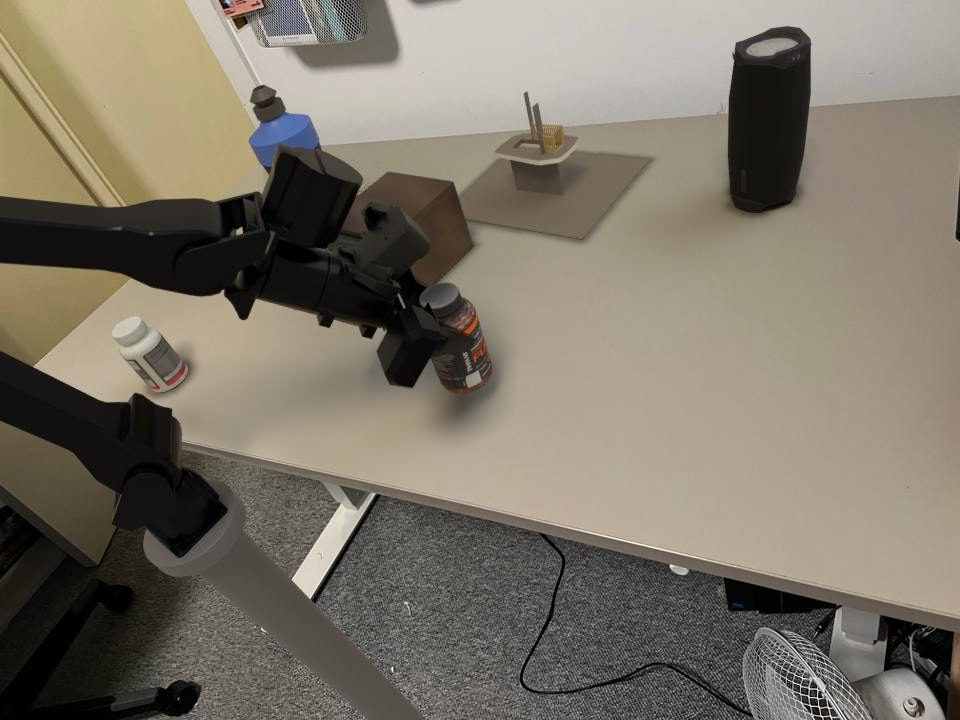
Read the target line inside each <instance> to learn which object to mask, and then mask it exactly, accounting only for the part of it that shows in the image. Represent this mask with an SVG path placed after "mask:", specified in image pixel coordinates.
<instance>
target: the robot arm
mask: <svg viewBox="0 0 960 720" xmlns="http://www.w3.org/2000/svg"><path fill="white" fill-rule="evenodd" d="M363 183H364V177H363V175H362V174H361V173H360V172H359V171H358V170H356V169H355V168H354V166H352V165H350V164H349V163H347V162H346V161H344V160H342V159H341V158H339V157H337V156H335V155H333V154H331V153H329V152H327V151H324V150H323V149H322V150H319V149H316V151H315V150H312V149H308V148H303V147H296V148H291V147H289V146H286V145H284V144H278V145H277V148H276V151H275V153H274V156H273V161H272V168H271V172H270V174H269V175H268V177H267V180H266V182H265V185H264V187H263V190H262V192H260V191H258V190H257V191H252V192H248V193H243V194H241V195H235V196H231V197H228V198H227V197H226V198H223V199H220V200H219V199H218V200H215V201H213V200H210V199H205V198H198V197H197V198H196V197H193V198H192V197H190V198H187V197H186V198H163V199H162V198H160V199H151V200H147V201H144V202H138V203H134V204H130V205H124V206H99V205H89V204H80V203H72V202H71V203H70V202H61V201H51V200H42V199H32V198H23V197H14V196H3V195H0V265H16V266H31V267H45V268H59V269H72V270H73V269H76V270H77V269H78V270H88V271H104V272H109V273H113V274H119V275H122V276H125V277H128V278H130V279H131V280H134V281H135V282H137V283H141V284H143V285H144V286H147V287H149V288H151V289H154V290H155V289H156V290H160V291H166V292H171V293H175V294H180V295H186V296H191V297H199V298H205V297H213V296H217V295H220V294H221V293H222V292H223V296H224V298H225V299H227V300H228V302H230V304H231V305H232V307H233V308H234V310H235V312H236V314H237V317H238V319H239V320H241V321H247V320H248V319H249V317H250V314H251V312H252V309H253V307H254V305H255V301H256V300H258V301H262V302H265V303H270V304H274V305H276V306H281V307H284V308H288V309H291V310H294V311H298V312H302V313H306V314H310V315H314V316H316V319H317V323H318V327H319V326H320V327H322V328H327V329H331V327H332V325H333V323H334V321H336V322H340V323H344V324H347V325H351V326H354V327H358V330H359V332H360V335H361V337H362V338H365V339H369V340H373V338H374V336H375V334H376V332H377V330H378V329H382V331H383V332H385V334H384V336H383V338H382V339H381V341H380V343H379V345H378V347H377V349H376V351H375V352H376V355H377V357H378V360H379V363H380V366H381V369H382V372H383V375H384V376H385V378H386V380H387V383H388V385H389V386H392V387H397V388H401V389H406V390H411V389H413V388H414V387H415V385H416V383H417V382H418V380H419V378H420V377H421V375H422V374H423V372H424V369H425V368H426V367H427V365H428V363H429V361H430V360H431V359H432V358H435V357H439V356H443V355H446V354H450V353H454V352H458V351H462V350H466V349H470V348H472V347H473V345H474V343H475V342H476V339H475V337H473V336H471V335H469V334H467V333H465V332H463V331H461V330H459V329H457V328H454V327H452V326H450V325H448V324H445V323H443V322H441V321H439V320H438V319H437V317H436V315H435V313H434V311H433V309H432V307H431V305H430V304H429V303H428V302H427V304H426V306H425V308H424V310H423V309H422V308H421V305H420V303H419V297H420V295H421V294H422V292H423V291H424V290H425V289H427V288H428V287H430V286H429V285H427V284H426V283H424V282H423V281H422V280H420V279H419V278H418V277H416V276H415V275H414V274H413V273H412V270H411V268H410V267H411V266H413V265H414V264H415V263H416V262H417V261H418V260H419V259H423V258H424V257H425V256H426V255H427V253H428V252H429V250H430V248H431V243H430V241H429V240H428V239H427V237H426V235H425V234H424V232H423V229H422V228H421V227H420V226H419V225H418V224H417V223H416V222H415V221H413V220H412V219H411V218H410V217H409V216H408V215H407V214H406V213H405V212H404V210H403V208H402V207H400V206H394V205H393V204H392V203H391V204H390V205H389V206H387V205H384V204H380V203H376V202H372V201H371V202H370V203H369V204H368V205H367V206H366V207H365V208H364V209H363V210H362V211H361V215H362V217H363V220H364V223H365V225H366V228H367V230H368V232H367V233H365V232H364V231H363V232H362V233H361V236H362V240H361V241H360V242H359V243H358V244H357V246H356V247H355V248H354V247H349V246H346V245H343V244H341V245H340V246H337V245H335V247H334V249H333V251H332V252H330V251H326V250H324V249H327V247H328V245H329V244H330V243H334V242H335V241H336V240H337V238H338V236H339V234H340V231H341V229H342V227H343V225H344V223H345V220H346V218H347V216H348V214H349V211H350V209H351V207H352V205H353V203H354V200H355V198H356V197H357V196H358V195H359V194H358V193H359V191H360V189H361V187H362V185H363ZM239 229H242V233H238V232H237V231H238V230H239ZM237 233H238V234H237ZM0 422H1V423H3V424H5V425H8V426H10V427H12V428H15V429H18V430H19V431H21V432H24V433H26V434H29V435H32V436H33V437H36V438H38V439H40V440H42V441H45V442H47V443H50V444H52V445H55V446H57V447H59V448H61V449H64V450H66V451H68V452H70V453H71V454H73V455H74V457H75V458H76V459H77V460H78V461H79V462H80V464H81V465H82V466H83V467H84V468H85V470H86V471H87V472H88V473H89V474H90V476H91V477H92V478H93V479H94V480H95V481H96V482H97V483H98V484H100V485H102V486H104V487H105V488H107V489H108V490H110V491H112V492H114V496H113V497H114V499H113V506H112V514H111V515H112V516H111V525H112V526H114V527H116V528H119V529H122V530H125V531H127V532H131V533H132V532H134V531H136V530H139V529H141V528H145V530H146V529H147V530H148V531H149V532H150V533H151V534H152V535H153V536H154V537H155V538H156V539H157V540H158V541H160V542H161V543H162V544H163V545H164V546H165V547H166V548H167V549H168V550H169V551H171V552H172V553H173V554H174V555H175V556H176V557H177V558H182V557H184V556H185V555H186V554H187V553H188V552H189V551H190V550H191V549H192V548H193V547H194V546H195V545H196V544H197V543H198V542H199V541H200V540H201V539H202V538H203V537H204V536H205V535H206V534H207V533H208V532H209V531H210V530H211V529H212V528H213V527H214V526H215V525H216V524H217V523H218V522H219V521H220V519H221V518H222V517H223V516H224V515H225V514H226V513H227V512H228V508H227V507H226V506H225V505H223V504H222V503H221V502H219V501H218V499H219V498H220V495H219V494H218V493H217V492H216V491H215V490H214V489H213V488H212V487H211V486H210V485H209V484H208V483H207V482H206V481H207V480H206V479H205V478H204V477H203V476H202V475H201V474H199V473H198V472H197V471H196V470H194V469H192V468H191V467H190V466H185V467H184V466H183V429H182V426H181V422H180V421H179V420H178V418H176V417H175V416H174V415H173V408H172V407H167V406H162V405H160V404H157V403H155V402H153V401H152V400H150V399H149V398H148V397H147V396H145V395H144V394H142V393H139V392H134V393H133V394H132V395H131V396H130V398H129V399H128V400H127V401H104V400H100V399H99V398H96V397H94V396H92V395H90V394H88V393H86V392H85V391H82V390H81V389H78V388H76V387H75V386H72V385H71V384H68V383H66V382H65V381H63V380H60V379H58V378H57V377H54V376H52V375H50V374H48V373H46V372H44V371H42V370H40V369H39V368H36V367H35V366H32V365H30V364H28V363H26V362H25V361H22V360H20V359H18V358H17V357H14V356H12V355H10V354H8V353H6V352H4V351H2V350H0Z"/></svg>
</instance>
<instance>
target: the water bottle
mask: <svg viewBox="0 0 960 720" xmlns="http://www.w3.org/2000/svg"><path fill="white" fill-rule="evenodd" d="M249 103H251V104H252V105H254V106H253V107H252V111H253V113H254V115H255V118H256V120H257V121H259V126H258V127H257V128H256V129H255V131H253V133H252V134H251V135H250V136H249V138H248V144H249V146H250V148H251V149H252V151H253V153H254V155H255V158H256V159H257V161H258V162H259V164H260V165H261V166H262V167H263V169H264V170H265V172H266V174H268V176H269V174H270V172H271V168H272V161H273V156H274V153H275V151H276V148H277V145H278V144H284V145H286V146H289V147H291V148H296V147H303V148H308V149H312V150H315V151H316V149H319V150H322V151H323V149H322V146H321V142H320V137H319V135H318V132H317V130H316V127H315V125H314V123H313V121H312V119H311V117H310V115H308V114H304V113H290V112H288V111H286V110H287V107H286V105H285V104H284V101H283V99H282V97H280V96H277V90H276V89H274V88H272V87H270V86H268V85H267V84H266V85H265V84H259V85H258V86H255V87H254V88H253V89H252V92H251V95H250V98H249ZM324 250H326V251H329V250H328V248H327V249H324Z"/></svg>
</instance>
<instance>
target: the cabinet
mask: <svg viewBox="0 0 960 720" xmlns="http://www.w3.org/2000/svg"><path fill="white" fill-rule="evenodd" d="M459 197H460V196H459V194H458V190H457V187H456V184H455V182H454V181H453V180H446V179H441V178H433V177H429V176H428V177H426V176H420V175H415V174H408V173H401V172H395V171H386V172H385V173H384V174H383V175H382V176H380V177H379V178H378V179H377V180H376V181H373V183H372V184H370V185H369V186H368V187H366V188H365V189H364V190H363V191H361V192H360V193H359V194H357V196H356V198H355V200H354V203H353V205H352V207H351V209H350V211H349V214H348V216H347V218H346V220H345V223H344V225H343V227H342V229H341V231H340V234H341V233H344V234H348V235H352V236H356V237H360V238H362V236H361V233H362V232H363V231H364V232H365V233H367V232H368V230H367V228H366V225H365V223H364V220H363V217H362V215H361V211H362V210H363V209H364V208H365V207H366V206H367V205H368V204H369V203H370V202H371V201H372V202H376V203H380V204H384V205H387V206H389V205H390V204H391V203H392V204H393V205H394V206H400V207H402V208H403V210H404V212H405V213H406V214H407V215H408V216H409V217H410V218H411V219H412V220H413V221H415V222H416V223H417V224H418V225H419V226H420V227H421V228H422V229H423V232H424V234H425V235H426V237H427V239H428V240H429V241H430V243H431V248H430V250H429V252H428V253H427V255H426V256H425V257H424V258H423V259H419V260H418V261H417V262H416V263H415V264H414V265H413V266H411V267H410V268H411V270H412V273H413V274H414V275H415V276H416V277H418V278H419V279H420V280H422V281H423V282H424V283H426V284H427V285H429V286H432V285H435V284H438V282H439V281H440V280H441V279H442V278H443V277H444V276H445V275H447V273H448V272H450V271H451V270H452V269H453V267H455V266H456V264H458V263H459V262H460V261H461V260H462V259H463V258H464V257H465V256H466V255H467V254H468V253H469V252H470V251H471V250H472V249H473V248H474V243H473V240H472V237H471V233H470V230H469V226H468V224H467V219H465V217H464V214H463V210H462V207H461V204H460V201H459V199H460V198H459Z"/></svg>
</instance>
